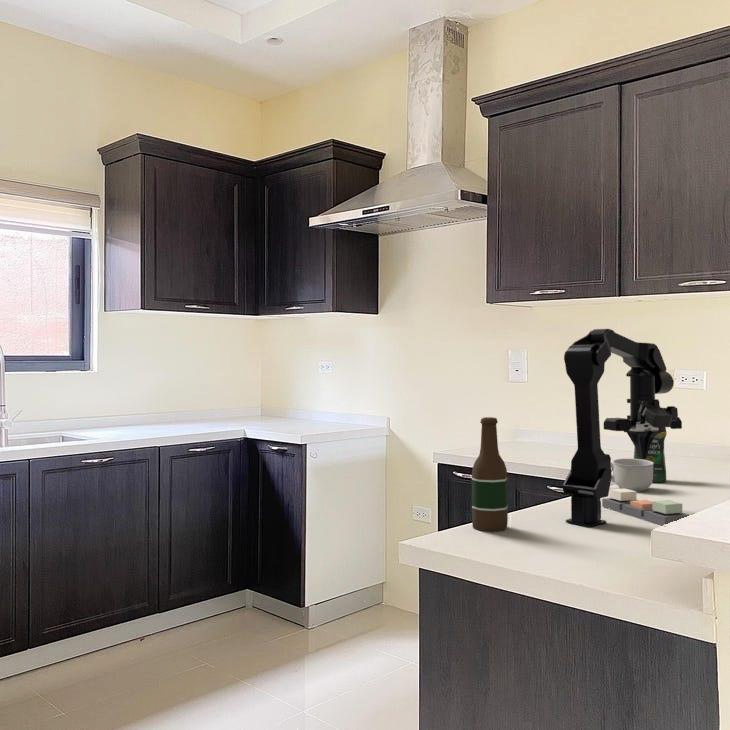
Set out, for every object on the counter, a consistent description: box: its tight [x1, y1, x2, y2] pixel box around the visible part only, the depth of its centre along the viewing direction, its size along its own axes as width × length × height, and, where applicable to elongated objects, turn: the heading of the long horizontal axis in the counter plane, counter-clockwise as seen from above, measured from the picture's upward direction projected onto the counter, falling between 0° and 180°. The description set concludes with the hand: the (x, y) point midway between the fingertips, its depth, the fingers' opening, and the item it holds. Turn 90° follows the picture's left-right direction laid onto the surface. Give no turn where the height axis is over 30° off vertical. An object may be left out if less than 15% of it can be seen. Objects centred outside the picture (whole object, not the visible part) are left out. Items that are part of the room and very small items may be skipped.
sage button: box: [651, 499, 683, 514], centre depth 166 cm, size 4×4×2 cm
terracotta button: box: [630, 499, 653, 509], centre depth 173 cm, size 4×4×2 cm
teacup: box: [611, 458, 654, 492], centre depth 208 cm, size 14×11×8 cm
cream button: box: [609, 488, 638, 501], centre depth 181 cm, size 4×4×2 cm
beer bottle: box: [471, 416, 509, 533], centre depth 161 cm, size 8×8×24 cm
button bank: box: [601, 497, 690, 526], centre depth 173 cm, size 23×7×2 cm, turn 16°
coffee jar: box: [633, 421, 668, 484], centre depth 221 cm, size 10×8×19 cm
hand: (643, 458), depth 182 cm, fingers closed
